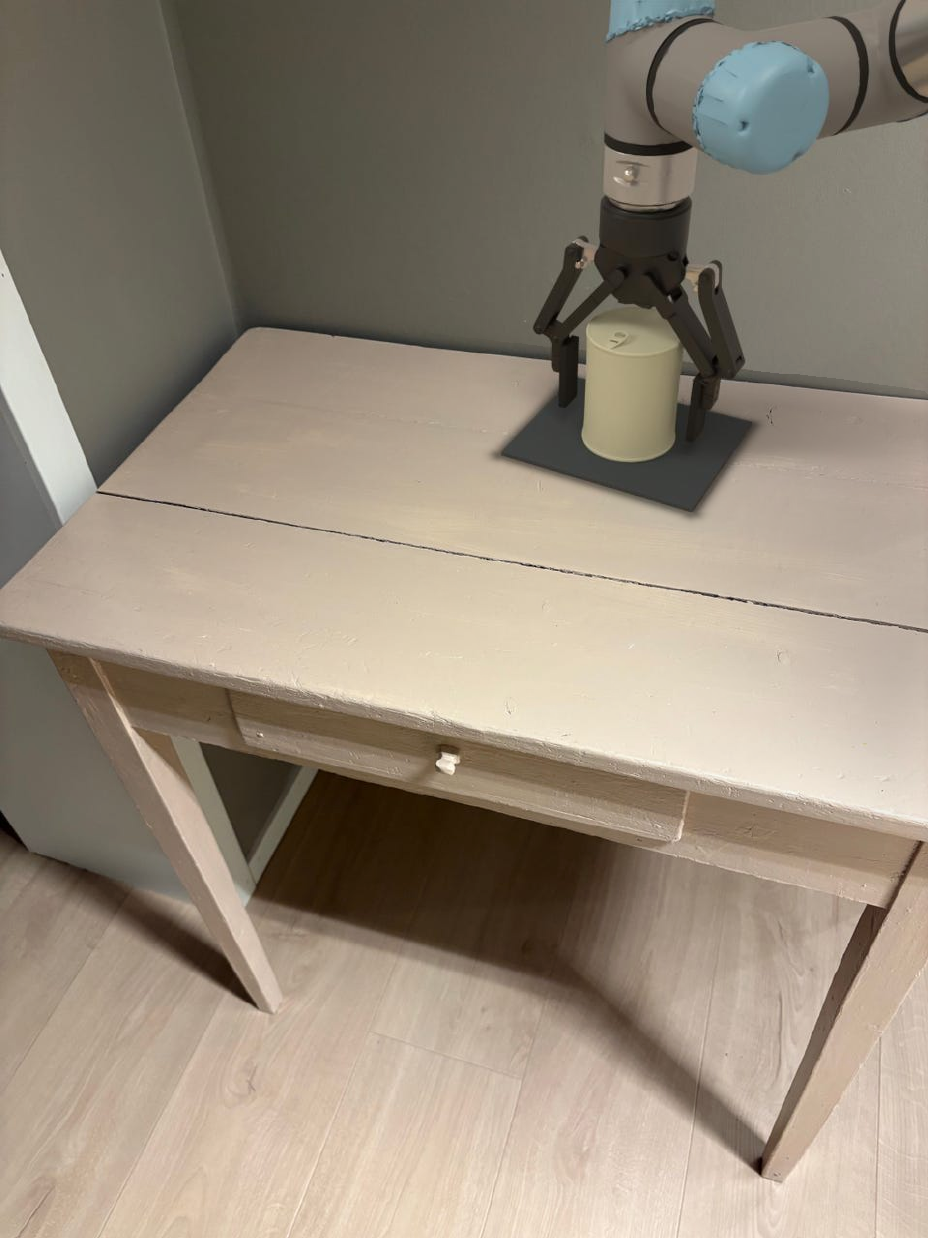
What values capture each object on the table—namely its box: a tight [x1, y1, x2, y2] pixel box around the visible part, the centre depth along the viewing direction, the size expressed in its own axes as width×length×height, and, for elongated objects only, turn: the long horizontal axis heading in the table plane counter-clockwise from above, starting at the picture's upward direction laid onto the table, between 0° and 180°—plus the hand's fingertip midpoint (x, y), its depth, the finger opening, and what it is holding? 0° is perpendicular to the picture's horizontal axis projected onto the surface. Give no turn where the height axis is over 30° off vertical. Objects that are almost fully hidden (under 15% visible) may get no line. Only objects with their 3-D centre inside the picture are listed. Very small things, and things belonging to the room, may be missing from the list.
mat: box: [500, 377, 753, 513], centre depth 96 cm, size 20×16×1 cm
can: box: [582, 306, 685, 463], centre depth 91 cm, size 9×9×12 cm
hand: (629, 417), depth 94 cm, fingers open, 13 cm apart
